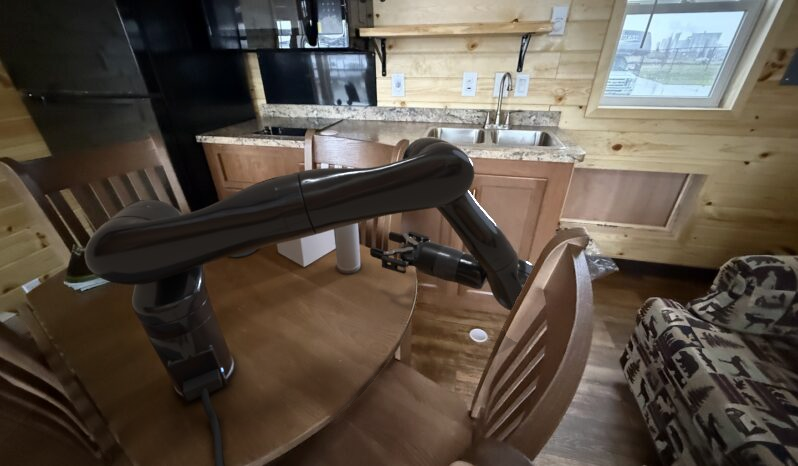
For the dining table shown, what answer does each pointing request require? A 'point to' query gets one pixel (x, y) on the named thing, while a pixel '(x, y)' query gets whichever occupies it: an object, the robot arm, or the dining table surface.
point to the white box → (308, 247)
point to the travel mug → (347, 248)
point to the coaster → (243, 254)
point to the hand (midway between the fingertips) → (380, 243)
